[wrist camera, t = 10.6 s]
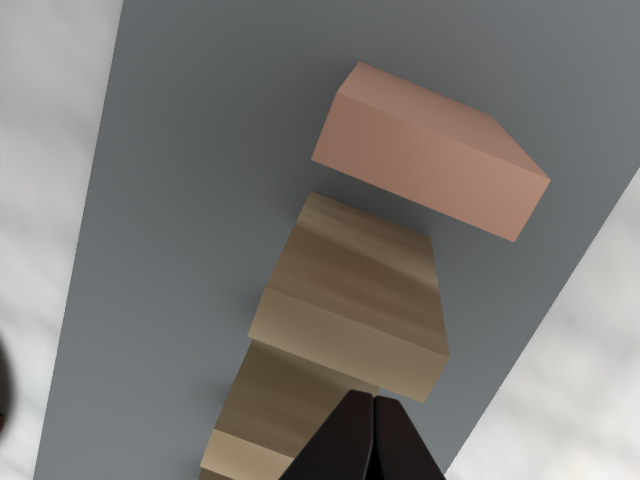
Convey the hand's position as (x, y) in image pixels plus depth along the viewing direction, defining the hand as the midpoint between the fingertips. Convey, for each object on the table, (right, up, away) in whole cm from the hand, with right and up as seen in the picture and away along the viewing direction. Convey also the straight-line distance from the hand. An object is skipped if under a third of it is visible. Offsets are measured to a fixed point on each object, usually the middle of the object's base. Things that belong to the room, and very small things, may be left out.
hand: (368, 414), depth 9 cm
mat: (-2, +1, +14) cm, 14 cm away
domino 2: (+1, +3, +12) cm, 13 cm away
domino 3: (-1, -1, +14) cm, 14 cm away
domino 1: (+3, +8, +10) cm, 13 cm away
